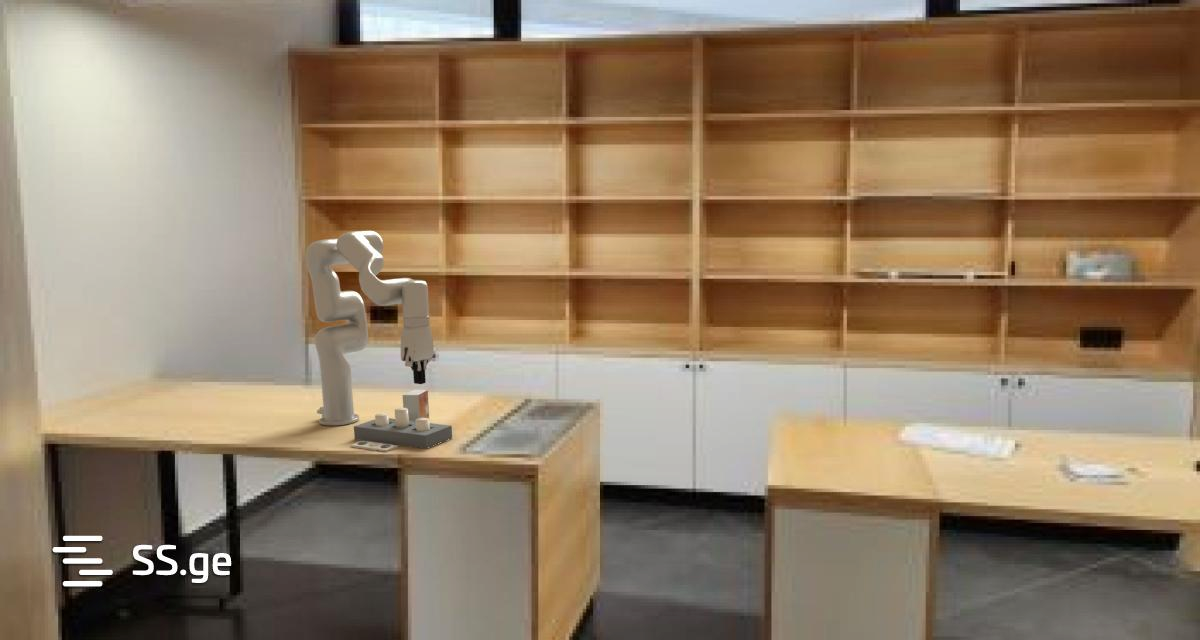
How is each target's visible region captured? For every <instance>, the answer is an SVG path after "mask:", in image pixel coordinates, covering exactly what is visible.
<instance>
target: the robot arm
mask: <svg viewBox="0 0 1200 640" xmlns="http://www.w3.org/2000/svg"><path fill="white" fill-rule="evenodd" d="M383 249H384V241H383V238H382V237H381V235H380V234H379V233H378V232H376V231H374V230H358V231H357V230H355V231H348V232H344V233H343V234H341V235H340V236H339V237H338V238H328V239H320V240H316V241H313V242H311V243H310V244H309V245H308V247H307V249H306V250H305V257H304V258H305V263H306V264H305V265H306V268H307V271H308V273H309V277H310V280H311V284H312V292H313V293H312V294H313V301H314V302H313V303H314V308H315V313H316V316H317V319H318V320H319V321H320V322H322V323H334V322H342V321H345V322H346V323H345V324H337V325H331V326H327V327H324V328H320V329H319V330H318V331H317V332H316V334H315V336H314V345H315V349H316V353H317V356H318V361H319V362H318V363H319V369H320V377H321V380H320V381H321V393H322V403H323V404H322V405H323V406H320V407H319V408H318V409H317V410H316V414H319V415H321V418H320V419H319V424H320V425H322V426H328V427H330V426H333V427H334V426H335V427H336V426H344V425H349V424H353V423H357V422H358V421H359V420H360V416H359V414H357V413H355V408H354V398H353V397H354V396H353V383H352V382H353V380H352V369H351V368H352V367H351V366H350V363H349V362H348V360H347V358H346V357H345V356H344V355H345V354H349V353H355V352H360V351H363V350H364V349H365V348H366V347H367V345H368V343H369V331H368V330H369V329H368V323H367V316H366V315H367V314H366V313H367V312H366V308H365V307H366V306H365V302H364V299H363V298H362V296H361V295H360V293H359V292H357V291H354V290H343V291H341V286H340V279H339V276H338V274H337V273H336V272H335V270H334V269H333V268H332V267H333V266H341V265H342V266H343V265H351V266H352V267H353V268H354V269H355V270H356V271H357V272H359V274H358V282H359V285H360V286H359V287H360V288H361V291H362V293H363V294H364V295H365V296H366V297H367V298H368V299H369V300H370V301H372V302H373V303H374V304H376V305H378V306H381V307H383V306H384V307H387V306H391V305H392V306H394V305H400V304H401V305H402V318H403V328H402V329H401V333H400V334H401V335H400V360H401V361H402V362H404V366H405V367H410V368H411V371H413V373H412V375H413V376H412V377H413V384H417V385H424V384H426V381H427V380H426V370H427V365H428V363H430V362H431V361H432V360H433V356H434V354H435V352H434V350H435V349H434V339H433V338H434V337H433V332H432V328H431V325H430V306H429V302H430V301H429V290H428V289H429V286H428V283H427V282H426V281H425V280H422V279H412V278H409V277H402V278H401V277H400V278H399V277H398V278H390V279H380V278H378V277H377V276H378V274H379V273H380V272H381V271H382V269H383V267H384V264H385V260H384V257H383V255H382V252H383ZM331 266H332V267H331Z"/></svg>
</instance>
